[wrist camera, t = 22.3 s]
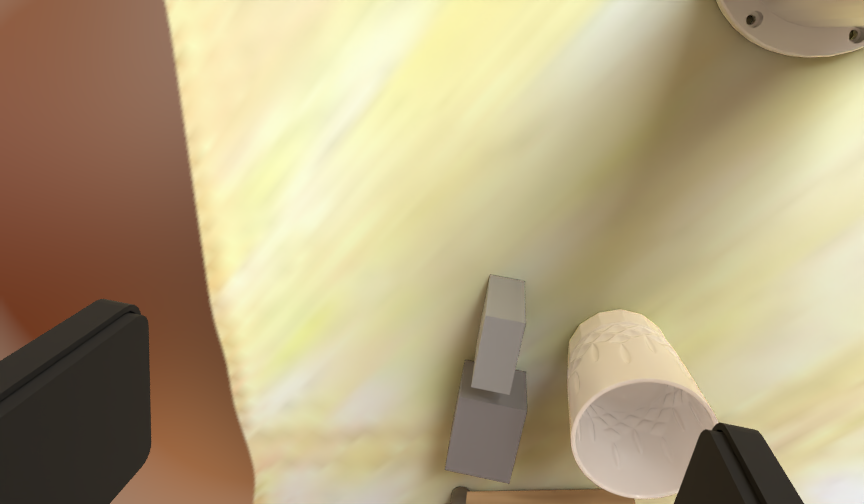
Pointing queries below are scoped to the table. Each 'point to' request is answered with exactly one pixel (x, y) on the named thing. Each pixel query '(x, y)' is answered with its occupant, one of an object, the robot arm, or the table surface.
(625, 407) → the white cup
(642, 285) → the table surface
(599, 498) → the door
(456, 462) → the grey rectangular block
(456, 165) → the table surface
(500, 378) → the block
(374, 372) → the table surface
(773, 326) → the table surface
